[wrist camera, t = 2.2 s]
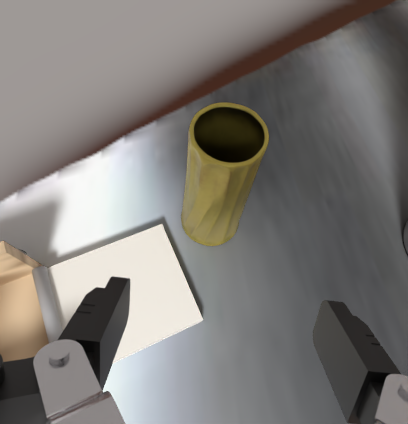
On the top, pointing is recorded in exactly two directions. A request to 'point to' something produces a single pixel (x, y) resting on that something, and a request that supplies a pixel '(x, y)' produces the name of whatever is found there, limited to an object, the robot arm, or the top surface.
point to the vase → (221, 170)
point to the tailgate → (139, 289)
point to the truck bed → (19, 306)
